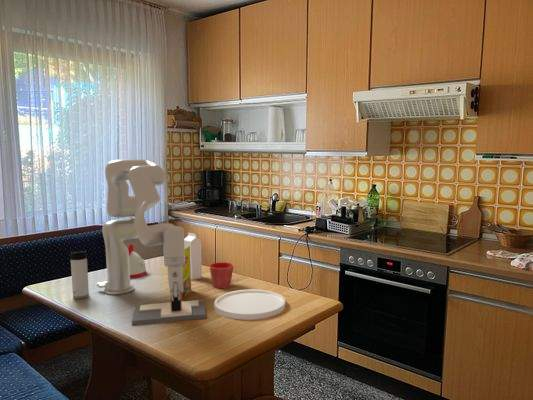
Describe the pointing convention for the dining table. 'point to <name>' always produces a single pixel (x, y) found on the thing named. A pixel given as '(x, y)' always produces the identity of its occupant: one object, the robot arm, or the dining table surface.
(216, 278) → the flower pot
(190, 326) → the dining table surface
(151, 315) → the mat
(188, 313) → the cream and peach block
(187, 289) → the food package
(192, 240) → the milk
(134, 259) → the kitchen timer
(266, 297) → the plate
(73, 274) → the travel mug
